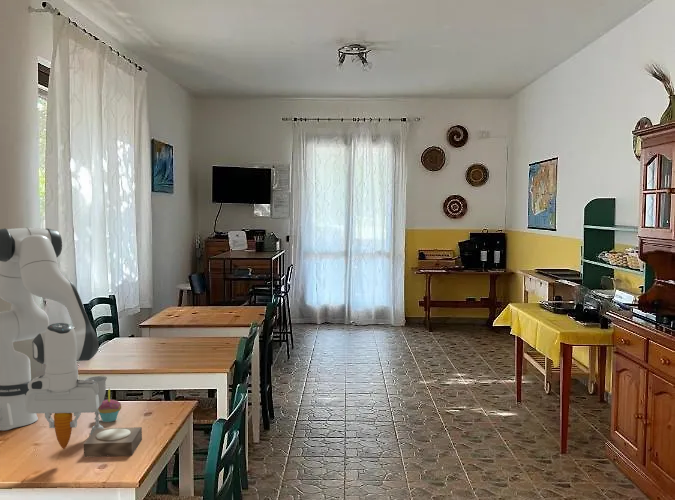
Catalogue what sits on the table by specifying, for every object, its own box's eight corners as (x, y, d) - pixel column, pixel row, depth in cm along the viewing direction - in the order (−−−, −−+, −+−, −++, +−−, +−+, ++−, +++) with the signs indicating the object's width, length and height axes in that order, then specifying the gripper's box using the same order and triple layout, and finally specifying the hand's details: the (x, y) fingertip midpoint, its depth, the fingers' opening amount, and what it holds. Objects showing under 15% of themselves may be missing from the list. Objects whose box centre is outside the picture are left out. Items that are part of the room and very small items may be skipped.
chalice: (101, 437, 223) (99, 382, 222) (82, 436, 225) (80, 381, 224) (112, 430, 230) (111, 376, 229) (94, 429, 232) (92, 375, 231)
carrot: (55, 453, 198) (54, 401, 197) (54, 447, 203) (52, 397, 202) (73, 450, 201) (72, 399, 200) (72, 444, 205) (71, 395, 204)
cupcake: (124, 420, 240) (123, 386, 240) (99, 425, 236) (98, 390, 235) (117, 414, 247) (116, 381, 247) (93, 419, 243) (91, 385, 242)
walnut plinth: (83, 457, 206) (83, 442, 206) (97, 441, 220) (96, 427, 219) (131, 455, 207) (131, 440, 206) (142, 439, 221) (141, 425, 220)
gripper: (101, 377, 204) (102, 423, 205) (30, 377, 203) (31, 424, 204) (95, 382, 198) (96, 430, 199) (21, 383, 196) (23, 431, 197)
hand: (63, 427), depth 201 cm, fingers closed on carrot, 4 cm apart
